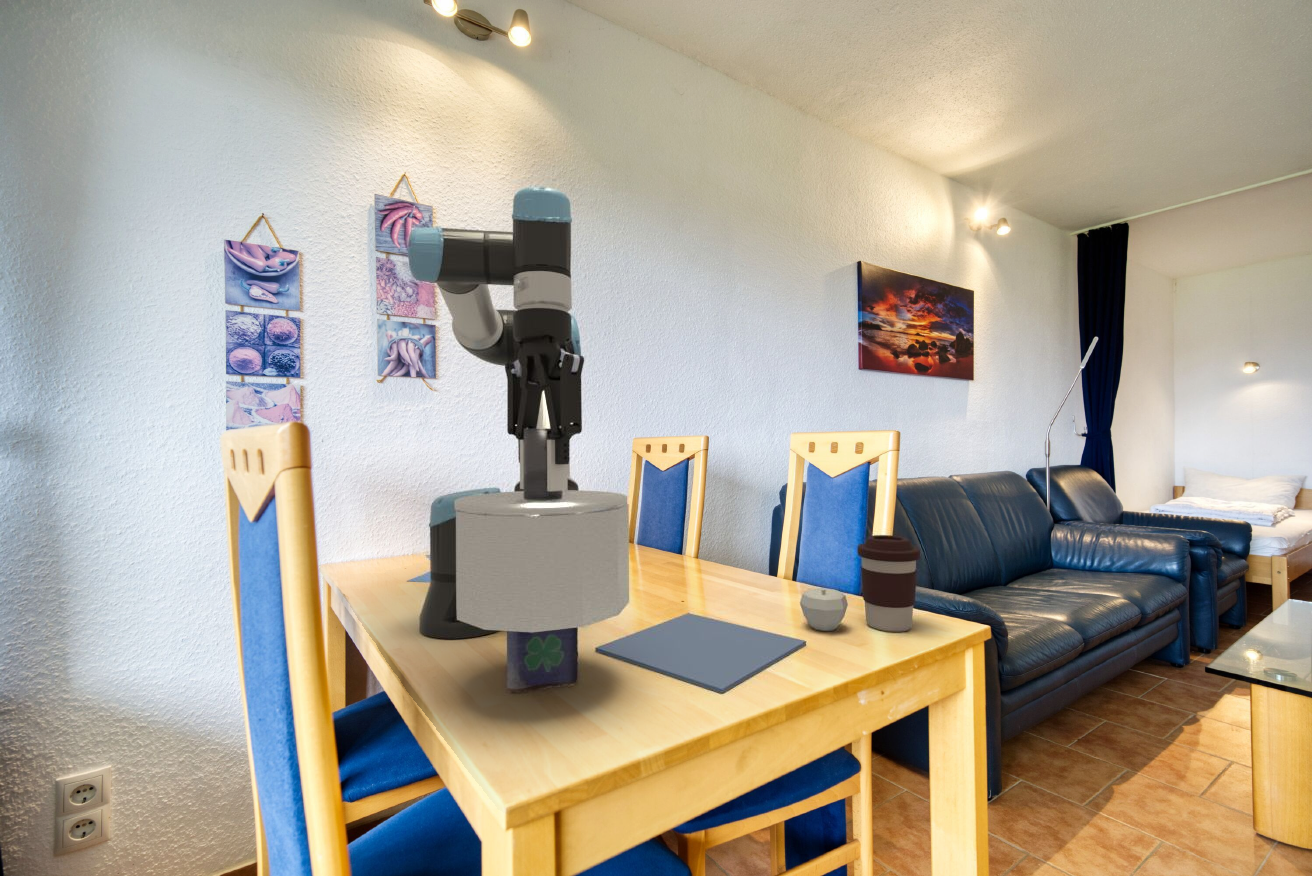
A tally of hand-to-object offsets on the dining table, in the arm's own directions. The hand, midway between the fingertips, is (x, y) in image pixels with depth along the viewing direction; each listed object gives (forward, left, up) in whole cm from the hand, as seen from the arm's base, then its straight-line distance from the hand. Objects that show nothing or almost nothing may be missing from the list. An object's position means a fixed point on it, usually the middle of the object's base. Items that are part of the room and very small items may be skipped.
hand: (543, 488), depth 77 cm
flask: (0, 0, -26) cm, 26 cm away
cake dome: (0, 0, -15) cm, 15 cm away
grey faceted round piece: (+18, +45, -26) cm, 55 cm away
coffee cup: (+26, +53, -26) cm, 64 cm away
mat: (+8, +24, -26) cm, 36 cm away
